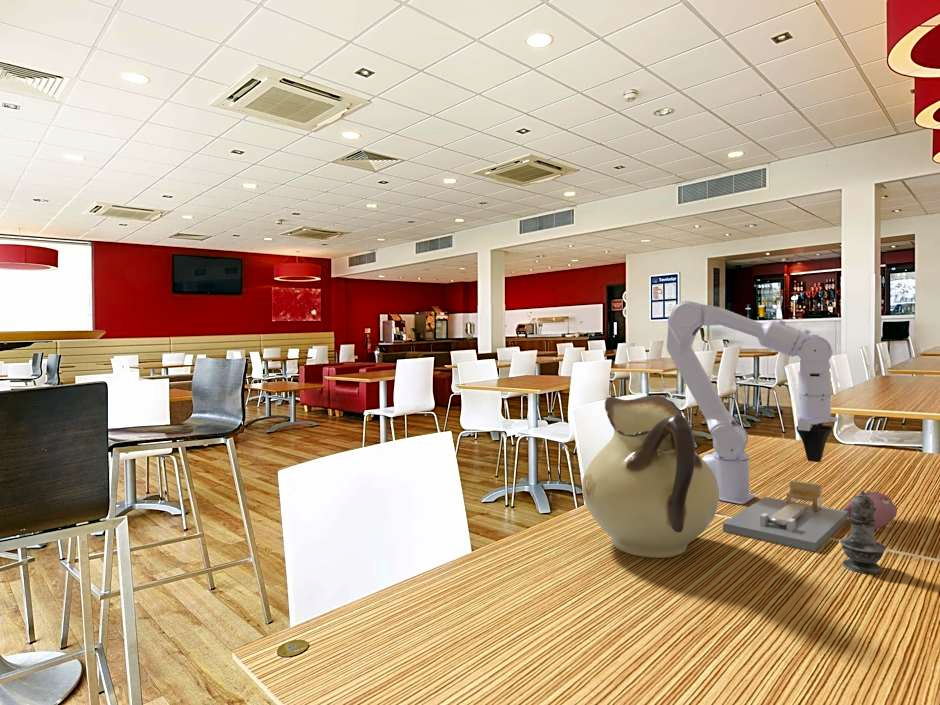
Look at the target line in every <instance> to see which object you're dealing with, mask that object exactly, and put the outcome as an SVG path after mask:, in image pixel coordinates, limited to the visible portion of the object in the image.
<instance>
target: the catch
mask: <svg viewBox="0 0 940 705" xmlns="http://www.w3.org/2000/svg"><path fill="white" fill-rule="evenodd" d="M822 488H823V487H822V484H819V483H812V482H805V481H798V480H791V479H790V481H789V491H787V492H786V501H787V505H788V504H789V503H792V504H795V503H796V502H797V500H800V501H807V502H811V503H812V505H813V511H818V510H819V509H821V508H822V507H823V505H822V500H823V498H822V496H823V495H822V492H823V491H822V490H823V489H822Z"/></svg>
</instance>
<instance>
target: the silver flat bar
mask: <svg viewBox="0 0 940 705" xmlns="http://www.w3.org/2000/svg"><path fill="white" fill-rule="evenodd" d="M805 511H807V506H804V505H798V504H792V503H789V504H788V505H786V506H785V507H783V508H782V509H781V510H779V511H778V512H776V513H775V514H773V515H772V516H770V517H768V523H772V524H777V525H782V526H787V520H789V519H790V518H793V519H796V518H798V517H799V516H800V515H802V514H803V513H804V512H805Z"/></svg>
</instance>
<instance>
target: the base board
mask: <svg viewBox="0 0 940 705" xmlns="http://www.w3.org/2000/svg"><path fill="white" fill-rule="evenodd" d="M795 504H798V505H804V506H807V511H805V512H804V513H803V514H802V515H800V516H799V517H798V518H796V519H793V518H790V519H789V520H787V526H782V525H777V524H772V523H768V517H770V516H772V515H773V514H775V513H776V512H778V511H779V510H781V509H782V508H783V507H785V506H786V505H787V499H786V500H785V499H780V498H775V497H774V498H773V497H768V496H764V497H763V498H761V499H760V500H758V501H756V502H754V503H753V504H750V506H748V507H747V508H745V509H743V510H742V511H740V512H739V513H737V514H736V515H734V516H731V518H729V519H728V520H726V521H724V522H723V523H722V532H724V533H730V534H732V535H733V534H734V535H738V536H742V537H747V538H750V539H756V540H761V541H765V542H770V543H774V544H779V545H781V546H782V545H783V546H786V547H792V548H795V549H799V550H805V551H810V552H814V553H815V552H817V550H819V549H820V548H821V547H822V546H823V545H824V544H825V543H826V542H827V541H828V540H830V538H831V537H832V536H833V535H834V534H835V533H837V531H838V530H839V529H840V528H841V527H842V526H843V525H844V524H845V523H846V522H847V521H848V520H849V516H848V511H844V509H843V510H841V509H839V508H838V509H836V508H832V507H825V506H822V508H821V509H819V510H818V511H813V504H808V503H803V502H797V501H796V503H795Z"/></svg>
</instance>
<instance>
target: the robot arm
mask: <svg viewBox="0 0 940 705" xmlns="http://www.w3.org/2000/svg"><path fill="white" fill-rule="evenodd" d="M786 323H787V322H786V321H785V320H782V319H779V320H778V321H777V320H770V321H768V322H765V323H762V322H760V321H757V320H754V319H751V318H748V317H746V316H743V315H741V314H738V313H735V312H734V311H730V310H728V309H726V308H723V307H719V306H715V305H714V306H713V305H709V304H703V303H698V302H696V301H691V300H684V301H680V302H678V303H677V304H675V306H673V308H672V310H671V312H670V315H669V316H668V318H667V335H666V336H667V337H666V350H667V352H668V355H670V357H671V359H672V361H673V363H674V365H675V366H676V368H677V371H678V372H679V374H680V376H681V377H682V379H683V381H684V383H685V385H686V387H687V388H688V391H690V394H691V395H692V397H693V399H694V400H695V403H696V404H697V406H698V408H699V410H700V411H701V413H702V415H703V416H704V419H705V420H706V424H707V427H708V431H709V432H710V434H711V437H712V447H713V448H714V451H713V453H712V454H709V453H707V454H704V455H703V457H701V458H702V459H703V460H704V461H705V462H706V464H707V465H708V466H709V468H710V469H711V471H712V472H713V474H714V476H715V478H716V481H717V484H718V488H719V501H723V502H728V503H734V504H739V505H745V504H746V503H748V502H750V501H751V500H753V499H755V498H756V497H757V494H756V493H751V492H750V455H749V454H748V453H747V452H746V451H745V450H746V446H747V444H748V442H749V441H748V440H749V435H748V432H747V430H746V429H745V428H744V427H743V426H741V425H740V424H739V423H737V422H736V420H735V418H734V416H732V414H731V413H730V412H729V410H728V409H727V408H726V405H725V404H724V402H723V400H722V399H721V397H720V395H719V393H718V391H717V390H716V388H715V386H714V384H713V383H712V381H711V379H710V378H709V376H708V374H707V372H706V370H705V369H704V367H703V365H702V364H701V362H700V360H699V357H698V356H697V354H696V353H695V351H694V350H693V344H694V341H695V338H696V336H697V333H698V332H699V331H700V330H701V328H703V327H704V326H705V327H706V326H717V325H719V326H723V327H725V328H729V329H731V330H734V331H738V332H740V333H744V334H747V335H749V336H753V337H756V338H757V340H758V342H759V345H760V346H762V347H764V348H767V349H770V350H772V351H775V352H777V353H780V354H783V355H786V356H788V357H792V358H793V357H798V358H799V359H800V360H799V371H798V372H797V373H798V374H797V376H798V381H797V383H798V385H797V386H798V387H797V388H798V390H797V392H798V398H797V401H798V405H797V406H798V408H797V410H798V412H797V417H796V418H797V425H796V432H797V434H798V435H799V438H800V439H801V441H802V444H803V447H804V451H805V455H806V459H807V462H812V463H813V462H815V463H820V462H822V458H823V454H824V451H825V446H826V443H827V441H828V439H829V438H828V437H829V436H830V434H831V433H832V431H833V426H832V425H824V424H825V423H830V422H832V423H834V422H838V417H836V416H832V415H831V414H832V413H831V412H832V407H831V406H832V401H831V400H832V395H831V394H832V392H831V391H832V390H831V388H832V373H831V371H830V370H831V363H830V359H831V358H832V356H833V352H834V351H833V349H832V346H831V343H830V342H829V341H828V340H827V339H825V338H824V337H822V336H820V335H818V334H810V333H811V330H808V329H805V330H801V329H798V328H796V327H793V326H790V325H787V324H786Z"/></svg>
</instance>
